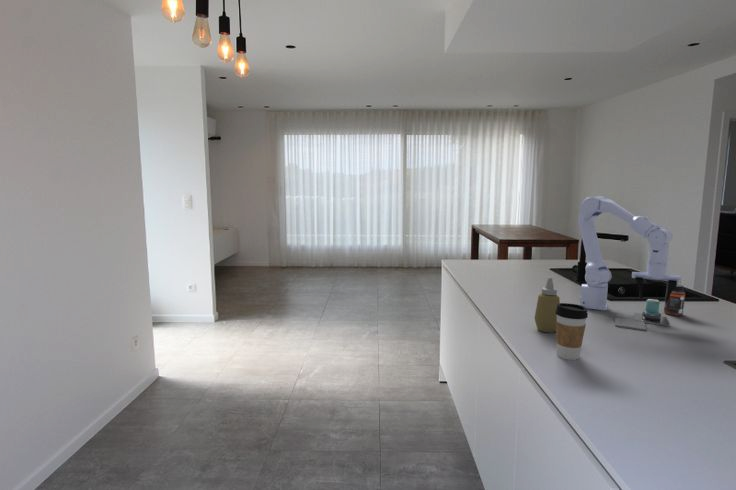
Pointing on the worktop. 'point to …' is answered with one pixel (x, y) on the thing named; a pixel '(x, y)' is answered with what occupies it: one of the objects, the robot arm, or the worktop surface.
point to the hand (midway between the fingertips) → (653, 299)
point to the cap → (652, 307)
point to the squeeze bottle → (547, 308)
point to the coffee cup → (570, 329)
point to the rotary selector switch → (651, 319)
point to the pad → (630, 324)
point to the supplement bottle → (675, 301)
